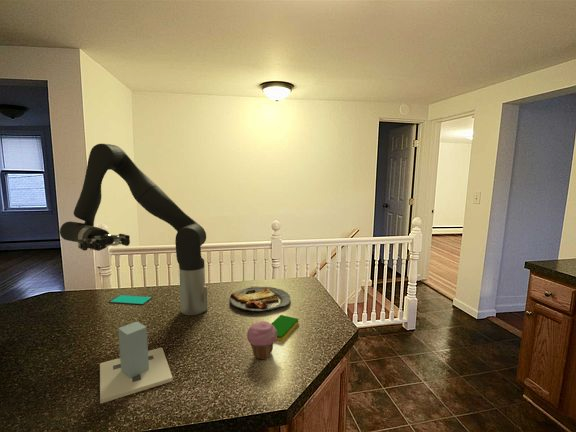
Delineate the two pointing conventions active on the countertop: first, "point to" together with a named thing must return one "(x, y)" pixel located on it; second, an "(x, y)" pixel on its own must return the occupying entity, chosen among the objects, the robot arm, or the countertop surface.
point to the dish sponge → (284, 326)
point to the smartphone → (131, 300)
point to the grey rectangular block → (133, 349)
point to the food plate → (259, 298)
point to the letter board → (120, 385)
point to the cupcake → (262, 338)
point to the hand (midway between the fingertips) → (114, 244)
